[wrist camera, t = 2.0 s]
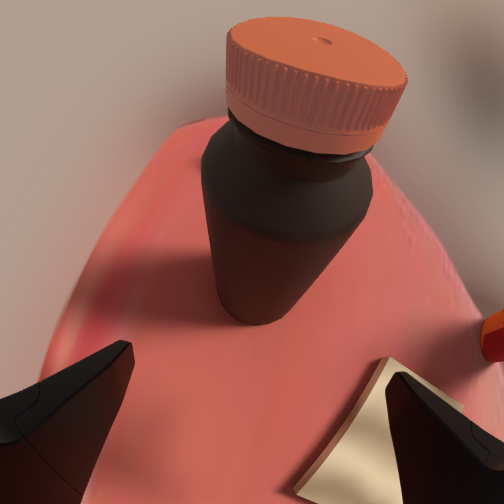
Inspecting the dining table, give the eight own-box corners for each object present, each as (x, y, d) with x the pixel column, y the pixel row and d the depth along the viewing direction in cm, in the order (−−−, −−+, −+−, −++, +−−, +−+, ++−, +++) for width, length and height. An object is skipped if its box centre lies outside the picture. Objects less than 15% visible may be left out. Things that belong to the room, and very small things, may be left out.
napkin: (385, 519, 13) (392, 524, 12) (292, 488, 16) (296, 494, 15) (455, 406, 19) (464, 406, 17) (381, 358, 21) (389, 356, 20)
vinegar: (311, 281, 24) (447, 77, 6) (264, 342, 21) (414, 172, 3) (251, 236, 25) (283, 4, 7) (200, 291, 23) (132, 45, 5)
